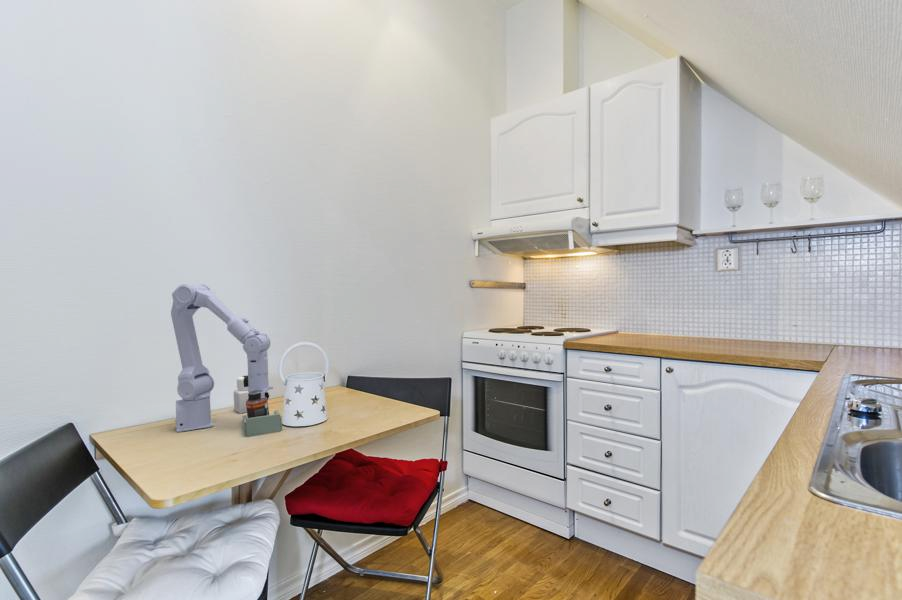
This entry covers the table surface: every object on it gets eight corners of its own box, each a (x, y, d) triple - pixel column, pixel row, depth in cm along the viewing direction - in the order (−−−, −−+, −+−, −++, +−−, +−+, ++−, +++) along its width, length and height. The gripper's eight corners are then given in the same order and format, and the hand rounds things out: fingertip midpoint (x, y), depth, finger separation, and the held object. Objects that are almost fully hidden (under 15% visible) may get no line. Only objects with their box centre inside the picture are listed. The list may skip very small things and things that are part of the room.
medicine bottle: (255, 406, 163) (253, 373, 163) (261, 410, 158) (259, 376, 158) (234, 410, 159) (232, 376, 159) (239, 414, 153) (238, 379, 153)
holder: (245, 437, 127) (244, 419, 127) (242, 428, 135) (242, 412, 135) (282, 431, 132) (281, 414, 132) (278, 423, 140) (277, 407, 140)
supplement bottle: (275, 425, 135) (270, 389, 134) (257, 433, 130) (253, 396, 129) (262, 422, 138) (257, 387, 137) (244, 430, 133) (240, 393, 132)
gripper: (274, 375, 134) (276, 421, 134) (269, 369, 147) (271, 410, 147) (249, 378, 131) (250, 424, 131) (245, 371, 143) (247, 413, 144)
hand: (259, 417), depth 139 cm, fingers closed
